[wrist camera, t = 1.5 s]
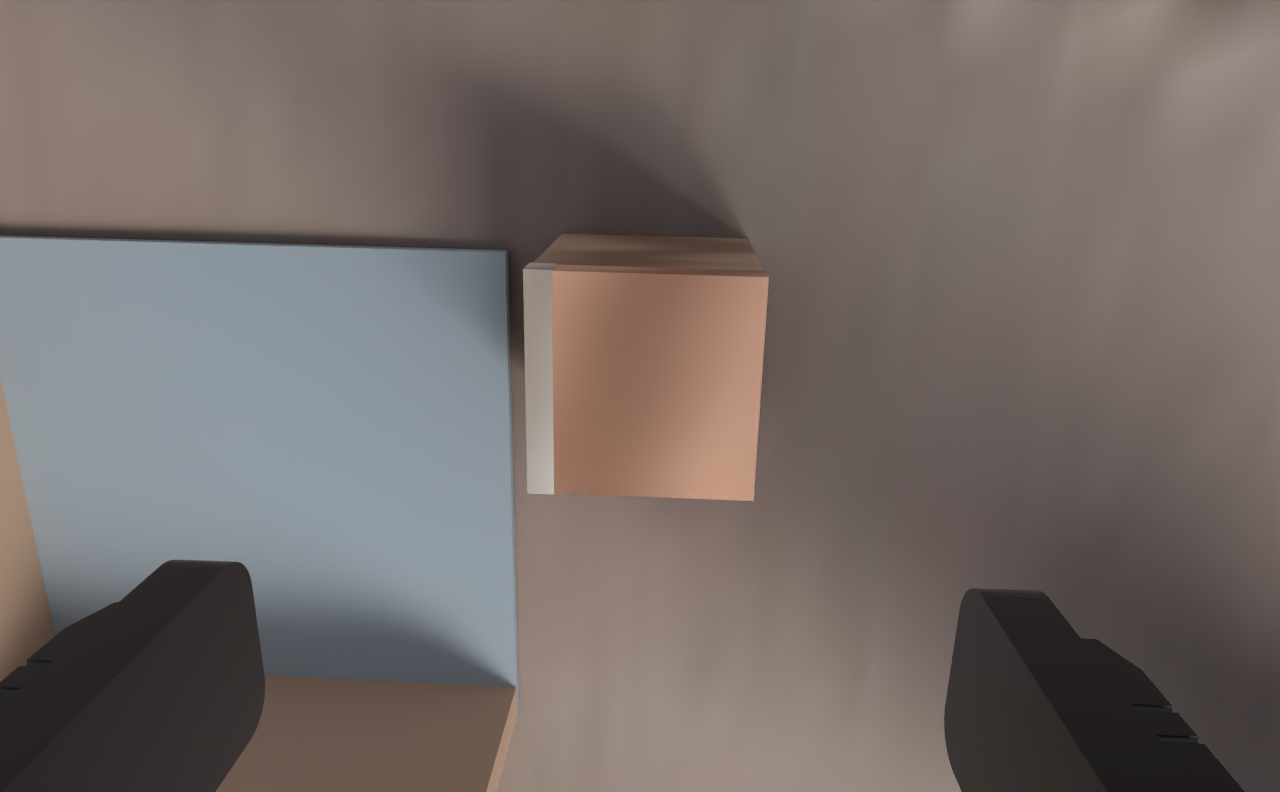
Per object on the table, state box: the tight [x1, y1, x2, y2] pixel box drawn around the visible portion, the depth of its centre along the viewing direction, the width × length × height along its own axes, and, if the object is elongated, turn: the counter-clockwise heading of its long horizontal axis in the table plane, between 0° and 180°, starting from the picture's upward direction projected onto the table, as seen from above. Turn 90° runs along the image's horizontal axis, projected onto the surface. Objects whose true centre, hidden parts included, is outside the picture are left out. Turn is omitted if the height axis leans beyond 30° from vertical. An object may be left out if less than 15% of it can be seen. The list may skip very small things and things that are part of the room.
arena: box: [0, 235, 519, 792], centre depth 24 cm, size 16×15×5 cm
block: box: [523, 233, 769, 501], centre depth 21 cm, size 5×5×6 cm
